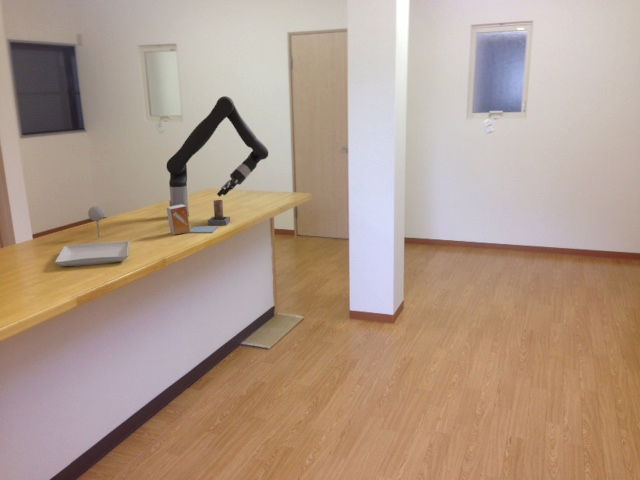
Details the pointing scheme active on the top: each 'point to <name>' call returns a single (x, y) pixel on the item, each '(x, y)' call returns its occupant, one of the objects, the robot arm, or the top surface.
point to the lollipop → (96, 215)
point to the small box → (178, 219)
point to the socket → (218, 221)
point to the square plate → (93, 253)
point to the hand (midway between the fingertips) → (220, 194)
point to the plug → (218, 209)
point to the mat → (203, 229)
